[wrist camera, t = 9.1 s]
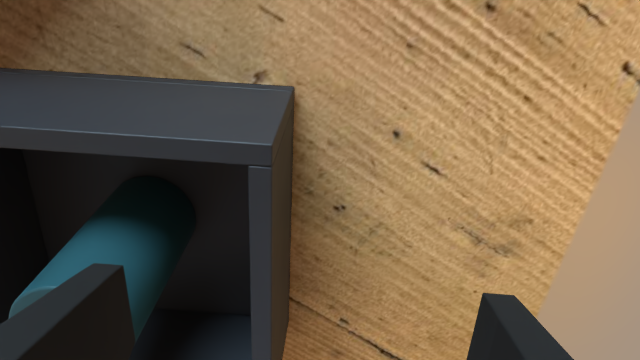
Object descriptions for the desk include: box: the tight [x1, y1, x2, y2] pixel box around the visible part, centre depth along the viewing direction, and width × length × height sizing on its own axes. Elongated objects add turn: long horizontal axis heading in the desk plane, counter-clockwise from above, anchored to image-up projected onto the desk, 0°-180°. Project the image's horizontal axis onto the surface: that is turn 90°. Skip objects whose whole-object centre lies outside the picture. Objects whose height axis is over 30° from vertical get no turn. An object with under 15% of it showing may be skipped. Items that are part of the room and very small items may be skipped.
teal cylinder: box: [9, 177, 196, 345], centre depth 18 cm, size 4×4×7 cm
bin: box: [0, 68, 294, 360], centre depth 19 cm, size 11×11×6 cm
